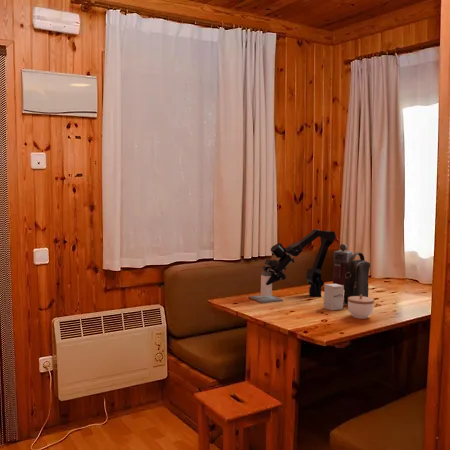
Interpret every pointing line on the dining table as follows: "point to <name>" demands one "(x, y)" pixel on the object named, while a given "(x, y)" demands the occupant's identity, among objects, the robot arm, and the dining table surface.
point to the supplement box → (333, 296)
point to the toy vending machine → (340, 264)
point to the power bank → (265, 289)
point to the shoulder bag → (356, 277)
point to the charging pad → (266, 299)
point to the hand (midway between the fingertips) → (264, 283)
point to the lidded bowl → (360, 306)
